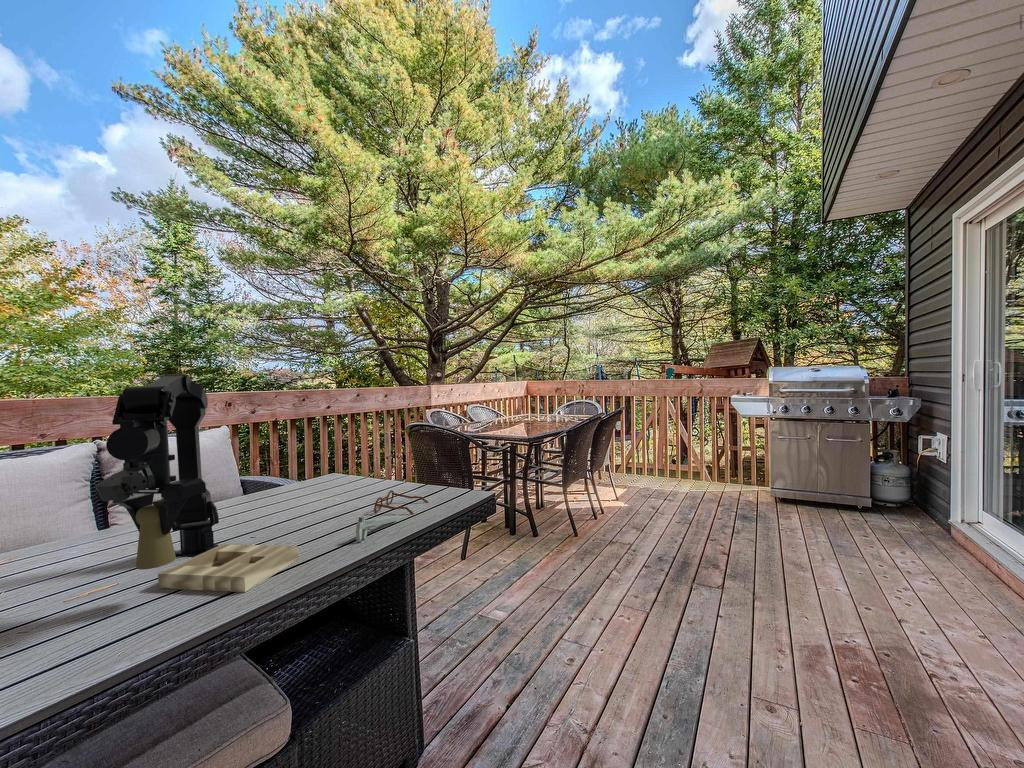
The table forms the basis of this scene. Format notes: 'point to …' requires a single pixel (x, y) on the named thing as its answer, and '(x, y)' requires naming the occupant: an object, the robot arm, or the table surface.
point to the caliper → (371, 525)
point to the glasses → (392, 500)
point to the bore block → (228, 568)
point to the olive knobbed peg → (152, 540)
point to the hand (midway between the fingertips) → (154, 533)
